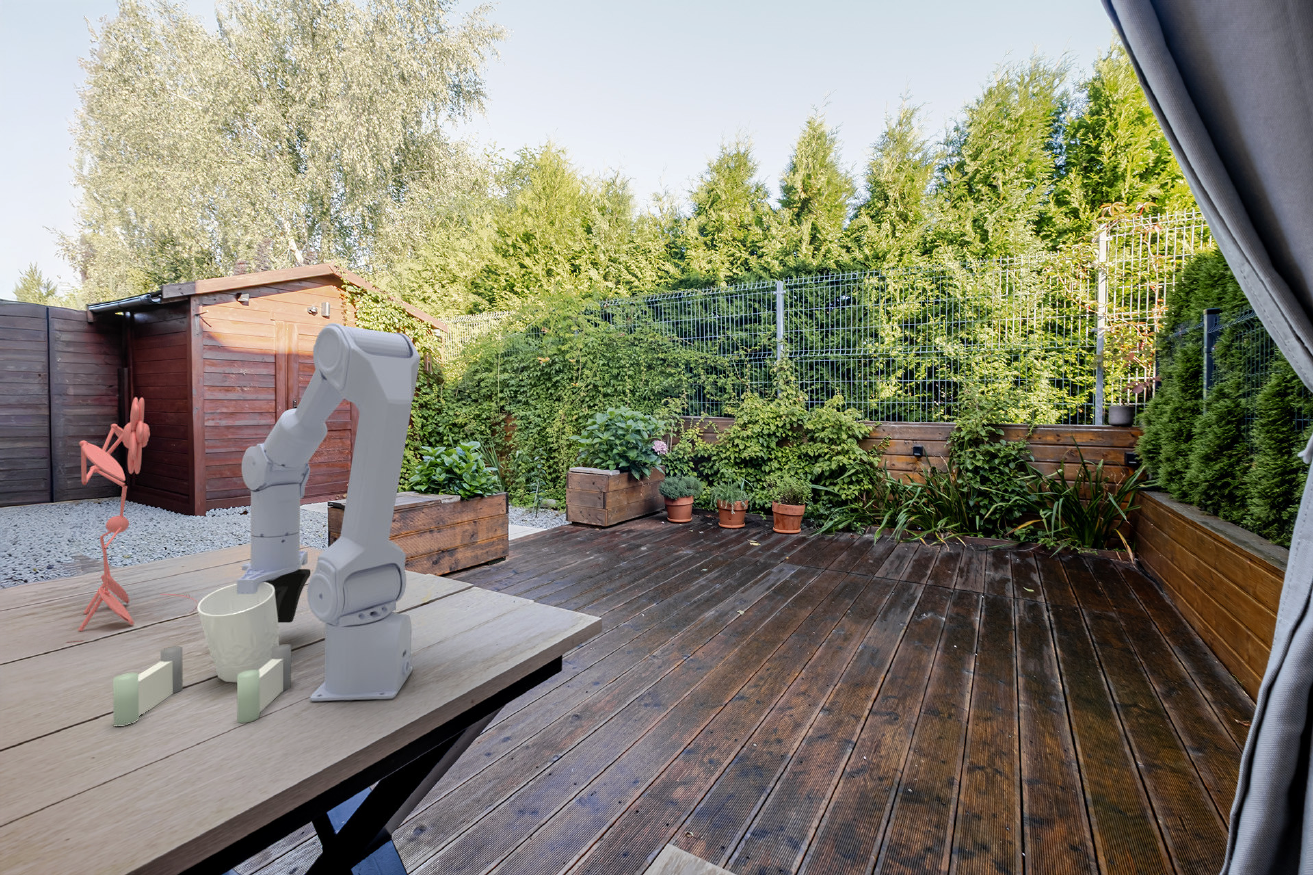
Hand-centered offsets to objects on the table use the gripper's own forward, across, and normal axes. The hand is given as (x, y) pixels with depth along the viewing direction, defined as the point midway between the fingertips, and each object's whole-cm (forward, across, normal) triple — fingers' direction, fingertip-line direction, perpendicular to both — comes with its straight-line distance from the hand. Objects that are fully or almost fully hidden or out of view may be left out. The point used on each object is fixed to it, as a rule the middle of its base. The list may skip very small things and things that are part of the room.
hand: (275, 628), depth 81 cm
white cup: (+2, +6, 0) cm, 7 cm away
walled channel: (+3, +15, 0) cm, 15 cm away
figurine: (+4, -16, -28) cm, 32 cm away
